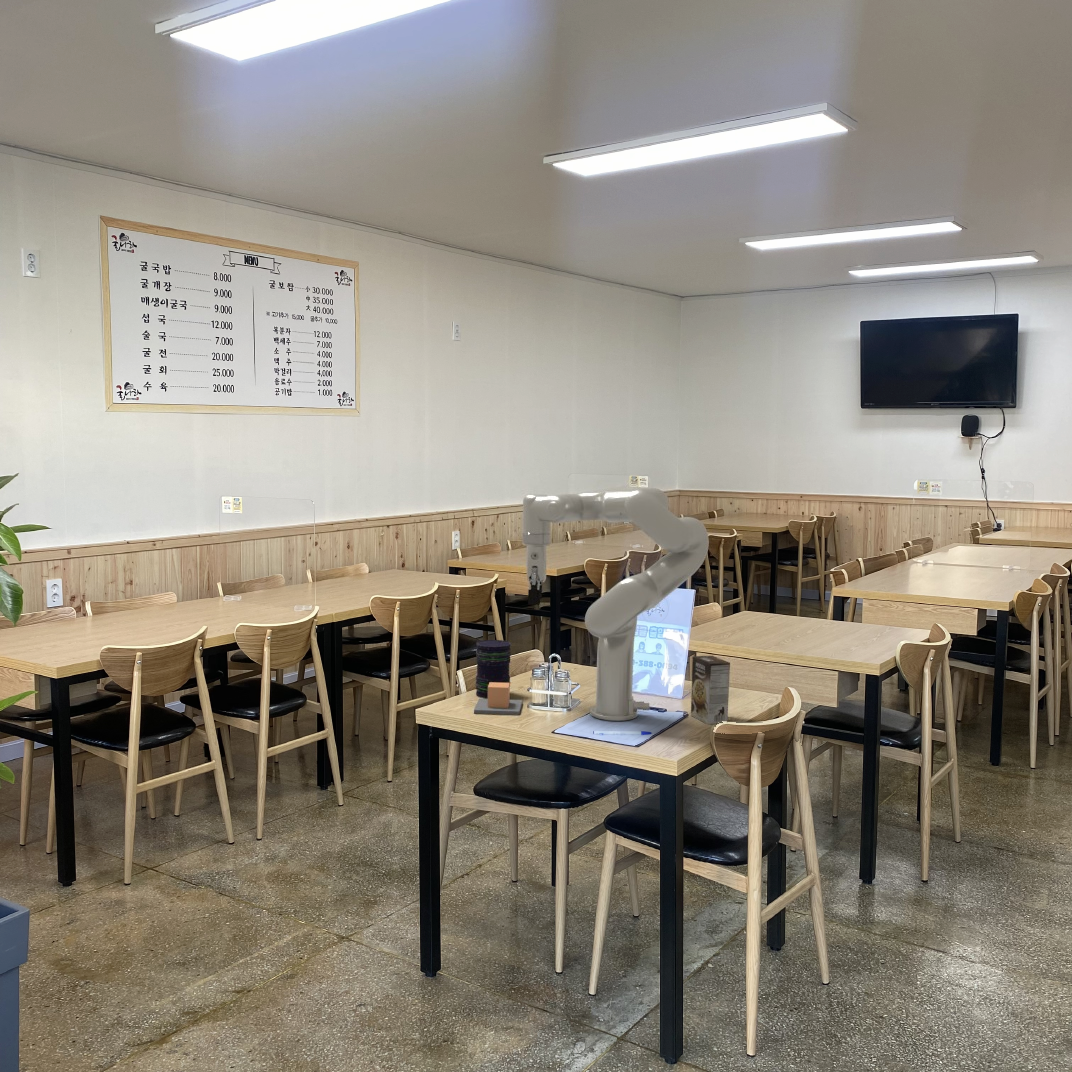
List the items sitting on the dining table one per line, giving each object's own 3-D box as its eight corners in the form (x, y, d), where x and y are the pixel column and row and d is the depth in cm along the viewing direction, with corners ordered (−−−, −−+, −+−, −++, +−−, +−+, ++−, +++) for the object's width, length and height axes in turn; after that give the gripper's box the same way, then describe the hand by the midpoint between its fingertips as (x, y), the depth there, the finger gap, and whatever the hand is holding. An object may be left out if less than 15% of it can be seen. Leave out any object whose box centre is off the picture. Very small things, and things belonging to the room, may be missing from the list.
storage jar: (494, 700, 276) (495, 648, 275) (468, 695, 282) (468, 643, 281) (517, 694, 284) (517, 642, 283) (490, 688, 290) (491, 638, 289)
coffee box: (689, 715, 265) (691, 656, 263) (710, 713, 267) (712, 654, 266) (707, 724, 256) (709, 663, 255) (728, 722, 258) (730, 661, 257)
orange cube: (509, 702, 271) (509, 682, 270) (508, 707, 265) (508, 687, 265) (489, 702, 271) (489, 682, 271) (487, 707, 266) (487, 687, 265)
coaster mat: (522, 703, 274) (522, 700, 274) (519, 715, 262) (519, 711, 262) (478, 702, 275) (478, 698, 275) (473, 713, 263) (473, 710, 263)
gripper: (548, 543, 262) (547, 607, 264) (551, 537, 279) (549, 597, 281) (520, 542, 262) (519, 606, 264) (524, 536, 280) (523, 596, 281)
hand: (535, 601), depth 272 cm, fingers open, 9 cm apart
